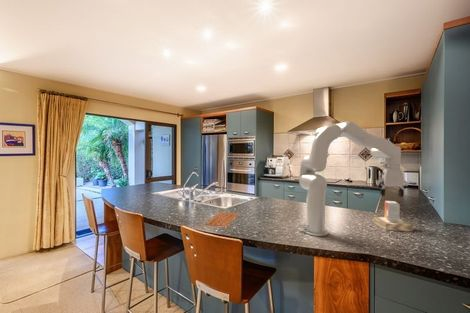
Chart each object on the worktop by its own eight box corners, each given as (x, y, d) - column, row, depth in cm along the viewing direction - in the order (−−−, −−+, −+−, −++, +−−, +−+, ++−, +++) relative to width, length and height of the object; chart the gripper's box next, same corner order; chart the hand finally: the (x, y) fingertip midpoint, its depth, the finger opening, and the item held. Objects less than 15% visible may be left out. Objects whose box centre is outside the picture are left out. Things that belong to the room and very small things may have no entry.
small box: (384, 217, 135) (384, 200, 135) (395, 218, 133) (395, 201, 133) (388, 221, 128) (388, 203, 128) (399, 222, 126) (399, 203, 126)
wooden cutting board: (238, 215, 158) (238, 213, 158) (227, 228, 129) (227, 225, 129) (219, 213, 162) (219, 211, 162) (203, 226, 133) (203, 223, 133)
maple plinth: (385, 230, 125) (385, 223, 125) (374, 222, 138) (374, 216, 138) (413, 231, 123) (413, 224, 123) (398, 223, 136) (398, 217, 136)
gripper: (379, 166, 128) (378, 196, 128) (412, 167, 125) (412, 198, 125) (373, 166, 135) (372, 194, 135) (404, 167, 133) (403, 195, 133)
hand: (391, 196), depth 130 cm, fingers open, 9 cm apart
